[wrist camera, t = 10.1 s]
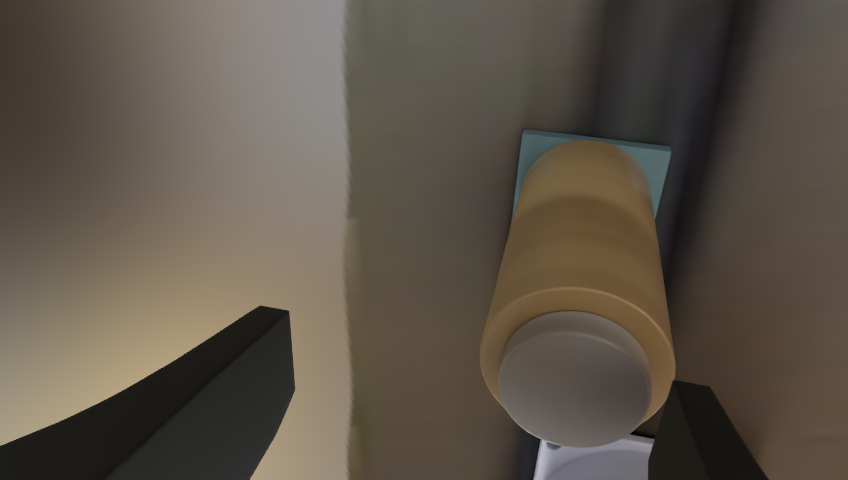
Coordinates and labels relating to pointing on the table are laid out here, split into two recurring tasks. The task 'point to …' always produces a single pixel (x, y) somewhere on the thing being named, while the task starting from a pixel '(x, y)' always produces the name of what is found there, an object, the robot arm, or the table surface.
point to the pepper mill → (580, 301)
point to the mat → (645, 155)
